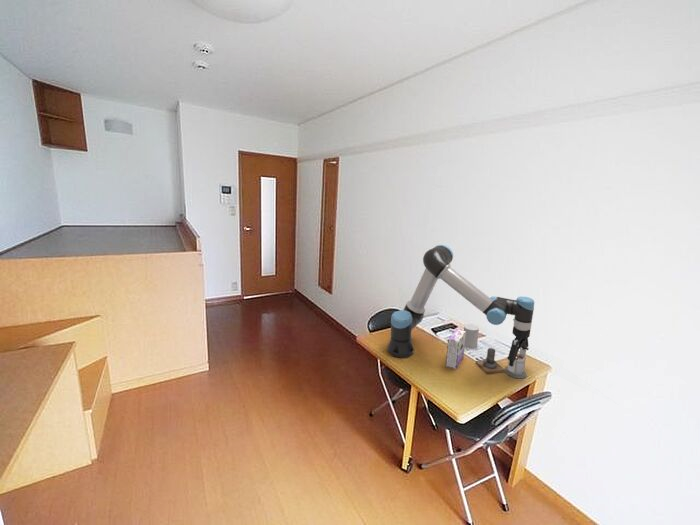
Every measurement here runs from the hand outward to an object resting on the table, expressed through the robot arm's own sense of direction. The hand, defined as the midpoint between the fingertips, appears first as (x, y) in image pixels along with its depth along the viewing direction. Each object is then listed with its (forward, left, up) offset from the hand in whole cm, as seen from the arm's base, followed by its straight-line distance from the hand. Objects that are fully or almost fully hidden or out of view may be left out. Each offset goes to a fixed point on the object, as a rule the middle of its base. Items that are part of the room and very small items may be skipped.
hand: (516, 365), depth 156 cm
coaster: (0, 0, -4) cm, 4 cm away
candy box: (-16, -25, -4) cm, 30 cm away
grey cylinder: (0, 0, -3) cm, 3 cm away
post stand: (-7, -10, -4) cm, 13 cm away
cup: (-30, -7, -4) cm, 31 cm away
